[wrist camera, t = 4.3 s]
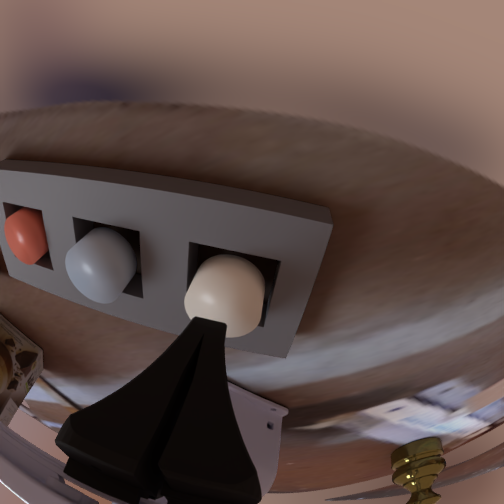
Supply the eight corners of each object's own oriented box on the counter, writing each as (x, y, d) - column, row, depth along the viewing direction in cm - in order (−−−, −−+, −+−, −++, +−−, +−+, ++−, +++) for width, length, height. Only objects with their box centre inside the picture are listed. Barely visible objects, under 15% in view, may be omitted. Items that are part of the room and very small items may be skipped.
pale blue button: (135, 233, 14) (116, 253, 13) (138, 288, 16) (124, 310, 14) (81, 221, 14) (60, 239, 13) (89, 274, 16) (72, 293, 15)
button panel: (328, 207, 14) (333, 225, 12) (287, 335, 19) (285, 358, 17) (4, 159, 15) (-15, 168, 13) (23, 262, 19) (9, 275, 18)
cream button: (271, 263, 14) (268, 288, 12) (258, 317, 16) (254, 344, 14) (198, 247, 14) (185, 270, 13) (194, 302, 16) (183, 327, 14)
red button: (51, 206, 15) (31, 220, 14) (59, 254, 17) (42, 270, 16) (19, 200, 16) (0, 212, 14) (27, 244, 17) (11, 258, 16)
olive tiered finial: (386, 448, 28) (391, 517, 19) (442, 430, 25) (453, 498, 17) (392, 461, 31) (396, 520, 22) (440, 446, 28) (449, 504, 20)
